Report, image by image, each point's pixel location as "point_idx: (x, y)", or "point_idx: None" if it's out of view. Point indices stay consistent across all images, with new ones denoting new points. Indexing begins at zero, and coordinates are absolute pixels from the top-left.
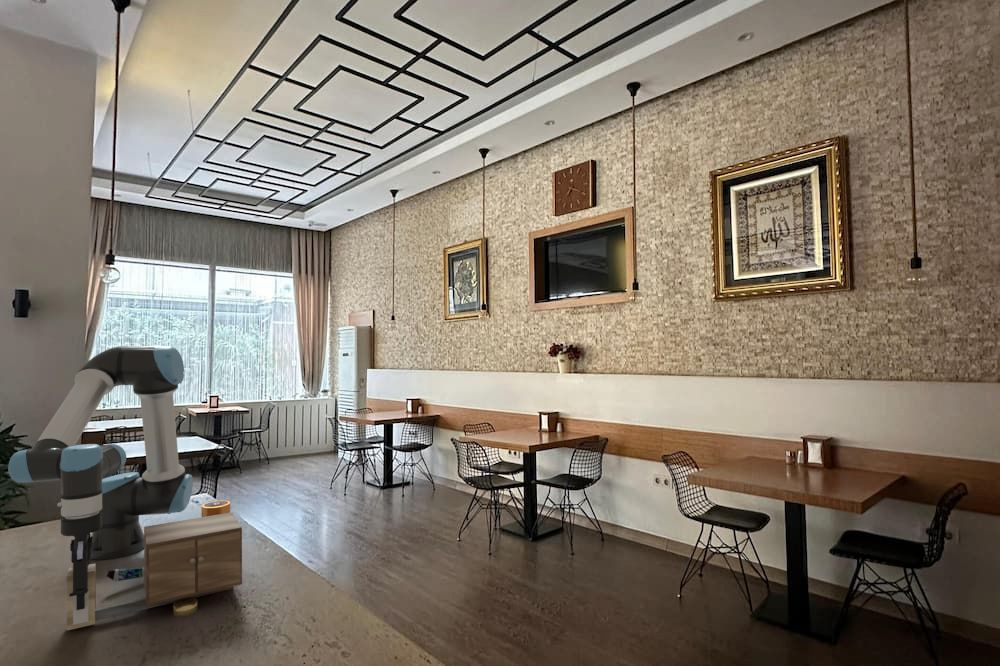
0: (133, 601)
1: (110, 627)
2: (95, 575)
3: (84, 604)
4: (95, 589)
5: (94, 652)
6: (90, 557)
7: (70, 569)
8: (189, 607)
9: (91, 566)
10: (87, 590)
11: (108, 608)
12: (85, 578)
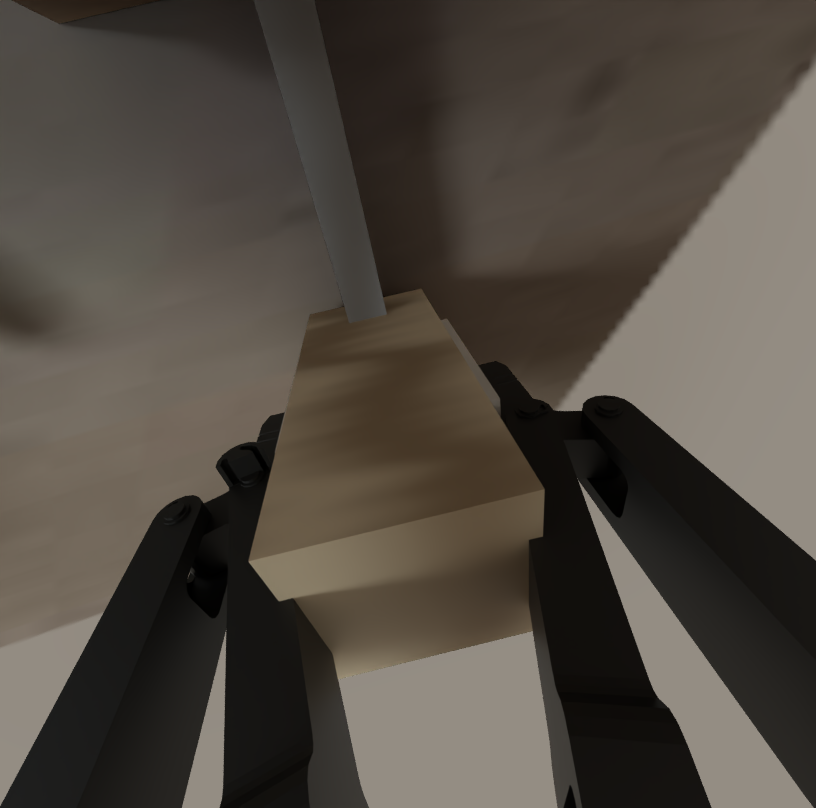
0: (310, 67)
1: (432, 205)
2: (349, 448)
3: (509, 372)
4: (346, 377)
5: (664, 214)
6: (660, 750)
7: (377, 662)
8: None
9: (362, 561)
10: (619, 402)
11: (370, 246)
12: (723, 490)
